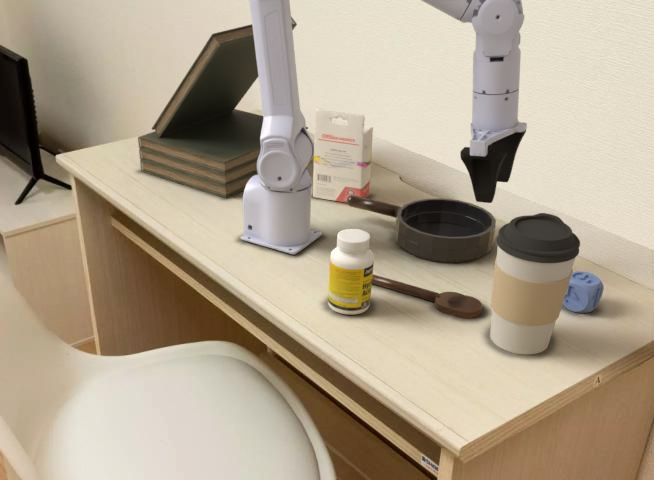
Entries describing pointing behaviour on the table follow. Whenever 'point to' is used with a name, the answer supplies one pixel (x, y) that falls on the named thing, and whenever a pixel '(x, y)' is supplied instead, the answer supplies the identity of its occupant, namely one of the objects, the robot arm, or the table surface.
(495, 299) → the coffee cup
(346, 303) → the supplement bottle
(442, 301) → the walnut spoon
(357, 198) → the pan handle
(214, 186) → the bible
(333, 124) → the ink cartridge box
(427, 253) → the frying pan
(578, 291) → the decorative dice
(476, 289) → the table surface
